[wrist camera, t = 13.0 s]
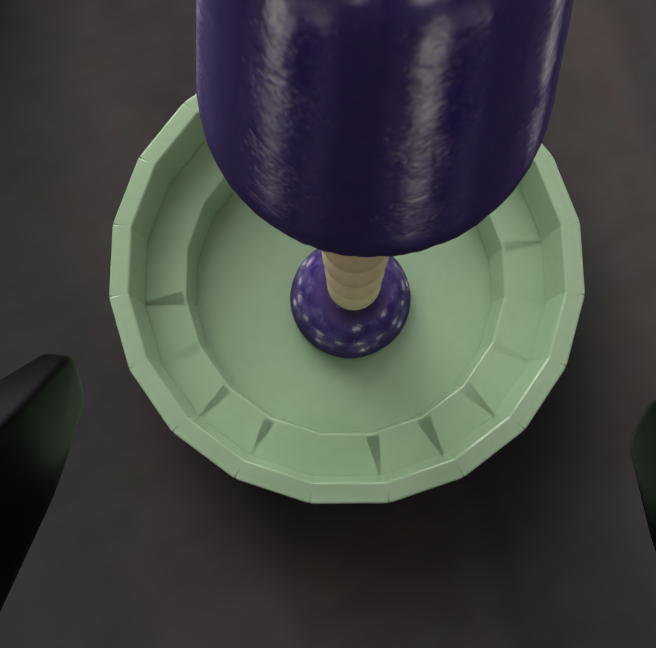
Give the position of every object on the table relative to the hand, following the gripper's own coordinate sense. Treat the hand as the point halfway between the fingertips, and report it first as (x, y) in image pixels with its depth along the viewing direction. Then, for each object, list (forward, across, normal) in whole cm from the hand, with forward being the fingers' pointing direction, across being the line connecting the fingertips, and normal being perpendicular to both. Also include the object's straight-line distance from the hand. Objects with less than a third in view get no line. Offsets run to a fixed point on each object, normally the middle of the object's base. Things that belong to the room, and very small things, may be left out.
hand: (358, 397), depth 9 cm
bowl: (+11, 0, +5) cm, 12 cm away
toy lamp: (+11, 0, +5) cm, 12 cm away
